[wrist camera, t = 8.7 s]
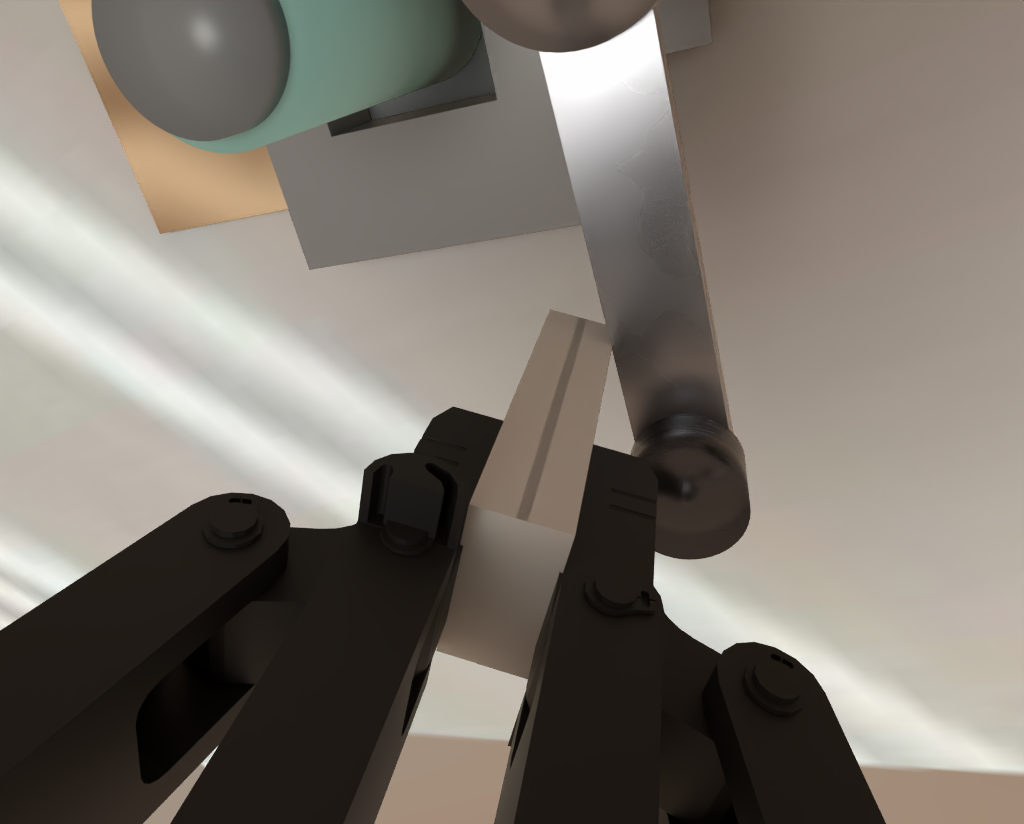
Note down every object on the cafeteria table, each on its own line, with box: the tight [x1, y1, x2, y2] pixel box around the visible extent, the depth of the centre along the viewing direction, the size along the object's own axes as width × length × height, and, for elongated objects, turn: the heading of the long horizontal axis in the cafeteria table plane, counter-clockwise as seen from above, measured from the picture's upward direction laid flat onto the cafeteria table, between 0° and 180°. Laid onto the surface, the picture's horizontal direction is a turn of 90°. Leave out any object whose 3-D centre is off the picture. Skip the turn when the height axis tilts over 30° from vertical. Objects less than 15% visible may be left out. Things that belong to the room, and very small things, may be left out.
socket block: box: [266, 0, 712, 270], centre depth 21 cm, size 16×16×16 cm
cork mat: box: [59, 0, 288, 234], centre depth 32 cm, size 10×10×1 cm
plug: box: [91, 0, 482, 154], centre depth 22 cm, size 5×5×16 cm
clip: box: [462, 0, 750, 559], centre depth 12 cm, size 12×4×3 cm, turn 17°
